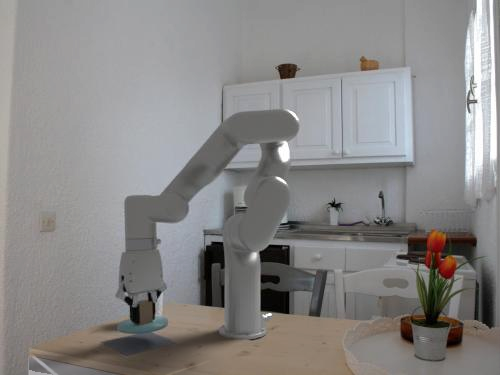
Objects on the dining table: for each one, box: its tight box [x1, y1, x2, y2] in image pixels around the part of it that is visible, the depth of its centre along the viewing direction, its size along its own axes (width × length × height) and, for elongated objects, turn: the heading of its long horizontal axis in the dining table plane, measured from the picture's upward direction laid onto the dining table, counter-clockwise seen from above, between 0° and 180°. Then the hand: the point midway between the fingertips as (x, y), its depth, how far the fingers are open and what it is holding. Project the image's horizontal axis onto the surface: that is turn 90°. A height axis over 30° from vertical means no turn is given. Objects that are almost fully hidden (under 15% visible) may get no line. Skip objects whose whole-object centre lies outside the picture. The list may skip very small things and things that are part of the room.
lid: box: [116, 300, 169, 335], centre depth 102 cm, size 12×12×6 cm
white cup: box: [138, 292, 164, 317], centre depth 119 cm, size 8×8×10 cm
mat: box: [101, 332, 177, 357], centre depth 101 cm, size 13×13×1 cm
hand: (142, 320), depth 102 cm, fingers closed on lid, 3 cm apart
